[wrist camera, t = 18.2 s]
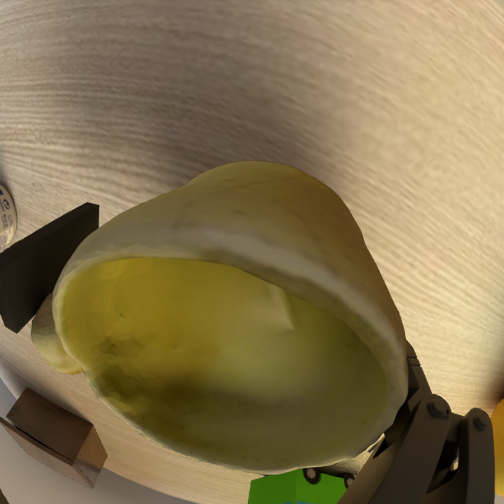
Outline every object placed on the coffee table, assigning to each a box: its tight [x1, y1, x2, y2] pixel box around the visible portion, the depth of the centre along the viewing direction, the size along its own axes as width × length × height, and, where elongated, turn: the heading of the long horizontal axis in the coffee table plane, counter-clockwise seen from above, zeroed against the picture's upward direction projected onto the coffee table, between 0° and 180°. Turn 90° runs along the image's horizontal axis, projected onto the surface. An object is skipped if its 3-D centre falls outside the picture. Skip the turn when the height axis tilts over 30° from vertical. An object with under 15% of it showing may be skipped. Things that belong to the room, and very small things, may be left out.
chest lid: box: [0, 417, 94, 489], centre depth 25 cm, size 13×13×1 cm
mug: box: [31, 161, 408, 475], centre depth 10 cm, size 12×10×10 cm
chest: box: [6, 387, 107, 485], centre depth 29 cm, size 13×13×7 cm
